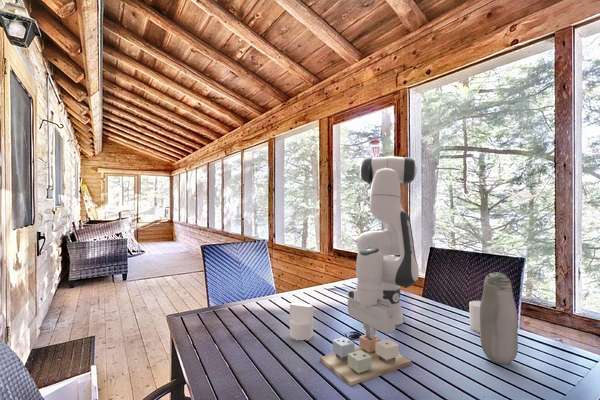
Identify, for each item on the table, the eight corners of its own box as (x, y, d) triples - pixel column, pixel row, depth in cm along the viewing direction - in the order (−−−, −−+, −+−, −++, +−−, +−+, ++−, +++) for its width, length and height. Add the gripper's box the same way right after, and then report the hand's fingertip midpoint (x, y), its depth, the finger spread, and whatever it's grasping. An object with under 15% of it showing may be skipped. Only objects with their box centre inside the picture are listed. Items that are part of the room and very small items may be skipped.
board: (320, 360, 100) (319, 349, 100) (376, 344, 111) (376, 334, 111) (350, 386, 86) (350, 373, 86) (411, 364, 97) (411, 352, 97)
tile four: (359, 346, 106) (359, 336, 106) (370, 343, 108) (370, 333, 108) (369, 352, 101) (369, 341, 101) (380, 349, 104) (380, 338, 104)
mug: (501, 339, 115) (500, 311, 115) (476, 337, 117) (476, 309, 117) (489, 326, 126) (488, 301, 127) (467, 325, 128) (466, 300, 128)
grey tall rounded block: (519, 372, 92) (517, 278, 92) (480, 363, 97) (478, 274, 98) (517, 358, 100) (515, 271, 101) (481, 350, 106) (479, 268, 106)
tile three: (332, 350, 101) (332, 339, 101) (345, 347, 103) (345, 336, 103) (341, 357, 96) (341, 345, 96) (354, 353, 99) (354, 342, 99)
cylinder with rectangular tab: (316, 333, 122) (316, 302, 122) (307, 342, 114) (307, 309, 114) (296, 329, 126) (295, 299, 126) (285, 338, 117) (285, 306, 118)
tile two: (347, 365, 94) (347, 353, 94) (360, 361, 96) (360, 349, 96) (358, 373, 89) (358, 360, 89) (371, 368, 92) (371, 356, 92)
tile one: (375, 353, 99) (375, 341, 99) (387, 349, 101) (387, 338, 101) (386, 360, 94) (386, 348, 94) (398, 356, 97) (398, 344, 97)
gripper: (399, 303, 97) (400, 347, 97) (358, 288, 115) (358, 325, 115) (384, 306, 94) (385, 352, 94) (344, 290, 112) (344, 328, 112)
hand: (370, 337), depth 105 cm, fingers closed, pressing on tile four
